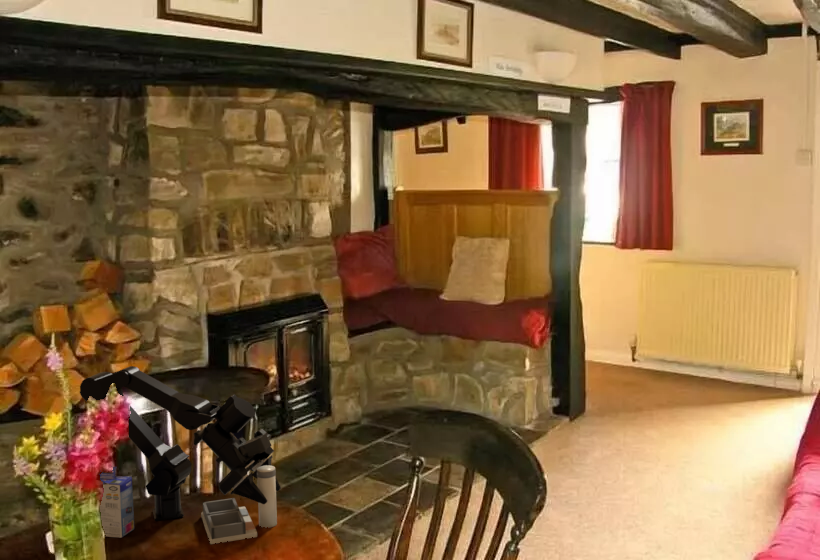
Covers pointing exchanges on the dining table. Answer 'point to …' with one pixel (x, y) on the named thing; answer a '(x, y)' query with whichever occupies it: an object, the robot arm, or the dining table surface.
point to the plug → (267, 496)
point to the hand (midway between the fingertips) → (272, 496)
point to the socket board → (226, 521)
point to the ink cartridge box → (117, 504)
